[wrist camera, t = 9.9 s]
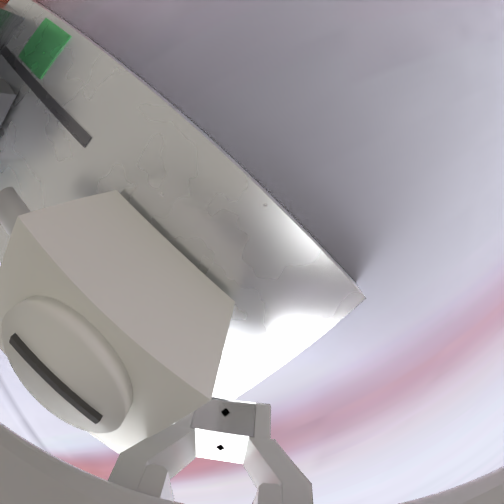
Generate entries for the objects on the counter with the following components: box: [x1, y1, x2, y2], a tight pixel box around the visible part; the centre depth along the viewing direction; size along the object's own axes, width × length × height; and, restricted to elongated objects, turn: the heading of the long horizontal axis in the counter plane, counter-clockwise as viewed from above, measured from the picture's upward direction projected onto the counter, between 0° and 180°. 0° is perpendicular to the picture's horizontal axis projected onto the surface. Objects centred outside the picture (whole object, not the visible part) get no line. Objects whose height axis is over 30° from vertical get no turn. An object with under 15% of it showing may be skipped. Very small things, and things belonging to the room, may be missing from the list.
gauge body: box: [0, 187, 235, 454], centre depth 8 cm, size 9×5×6 cm, turn 46°
